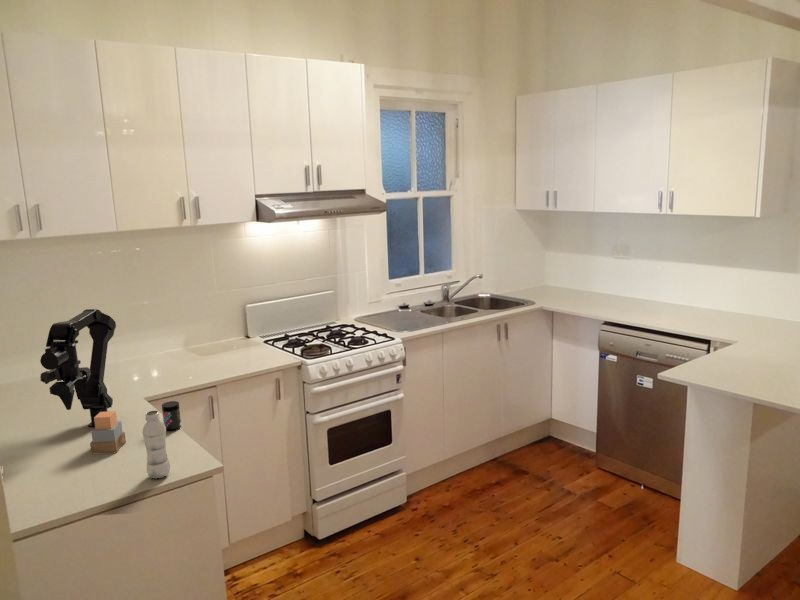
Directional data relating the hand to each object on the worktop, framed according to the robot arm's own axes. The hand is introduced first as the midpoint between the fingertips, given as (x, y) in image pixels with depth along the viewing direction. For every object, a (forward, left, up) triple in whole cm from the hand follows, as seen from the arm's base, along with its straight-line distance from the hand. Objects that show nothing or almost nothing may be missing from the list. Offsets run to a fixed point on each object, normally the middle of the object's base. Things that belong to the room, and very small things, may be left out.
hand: (74, 404), depth 212 cm
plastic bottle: (+30, +35, -13) cm, 48 cm away
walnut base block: (+8, +13, -13) cm, 20 cm away
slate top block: (+8, +13, -9) cm, 17 cm away
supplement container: (-6, +29, -13) cm, 33 cm away
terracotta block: (+7, +13, -5) cm, 16 cm away
